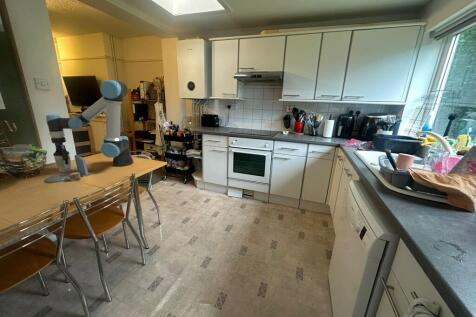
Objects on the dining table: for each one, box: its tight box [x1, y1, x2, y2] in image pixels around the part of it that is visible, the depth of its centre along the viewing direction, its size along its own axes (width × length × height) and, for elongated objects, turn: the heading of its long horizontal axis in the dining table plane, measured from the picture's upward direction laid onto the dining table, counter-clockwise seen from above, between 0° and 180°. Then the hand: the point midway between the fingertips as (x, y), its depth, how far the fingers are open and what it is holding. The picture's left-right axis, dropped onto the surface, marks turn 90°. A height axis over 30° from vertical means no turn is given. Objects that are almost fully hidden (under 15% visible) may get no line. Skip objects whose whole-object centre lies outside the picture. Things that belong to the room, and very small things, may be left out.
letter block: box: [69, 171, 82, 182], centre depth 132 cm, size 4×4×5 cm
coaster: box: [45, 174, 70, 184], centre depth 132 cm, size 12×12×1 cm
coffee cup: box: [52, 149, 72, 173], centre depth 145 cm, size 9×9×15 cm
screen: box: [73, 154, 92, 178], centre depth 141 cm, size 16×5×12 cm, turn 54°
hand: (65, 166), depth 146 cm, fingers open, 11 cm apart
